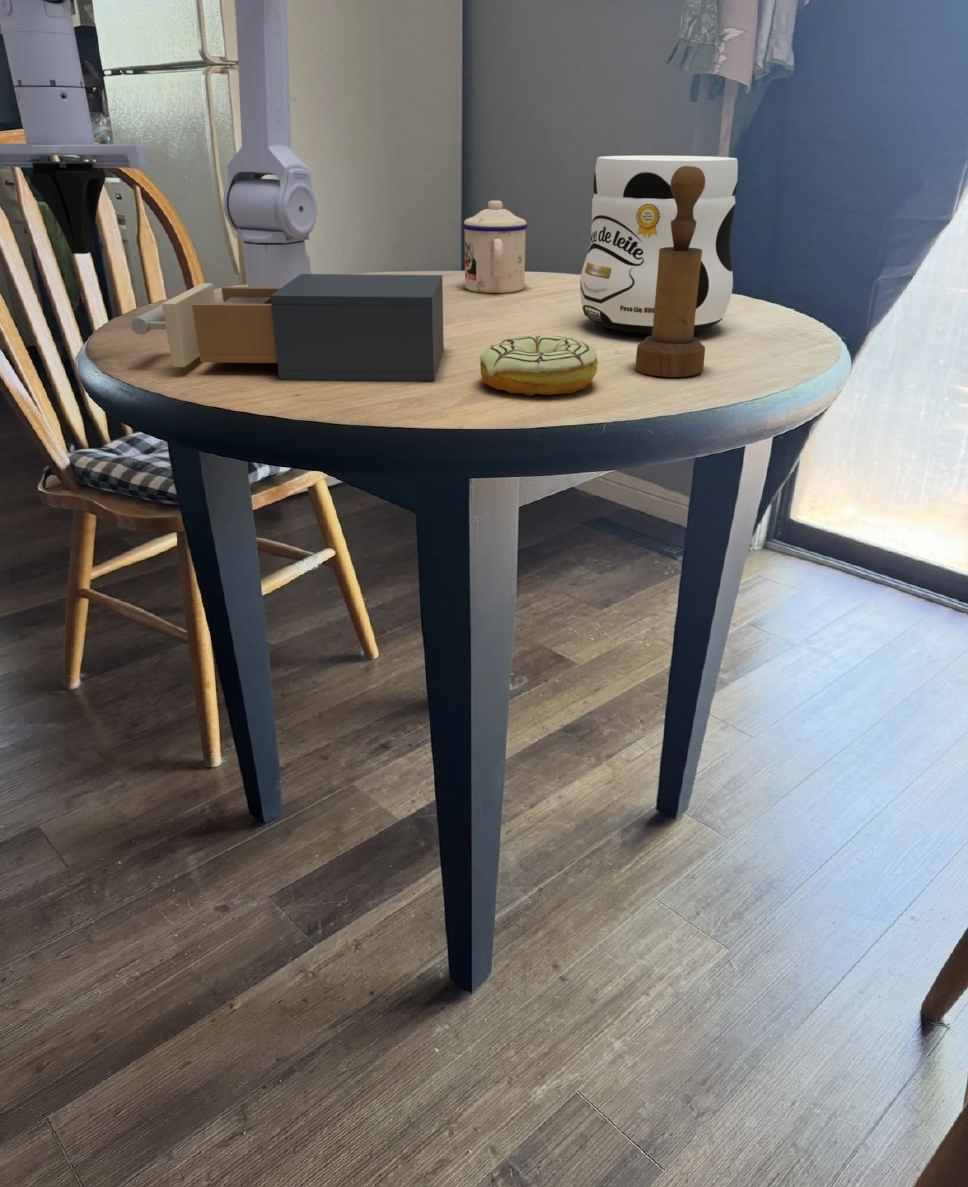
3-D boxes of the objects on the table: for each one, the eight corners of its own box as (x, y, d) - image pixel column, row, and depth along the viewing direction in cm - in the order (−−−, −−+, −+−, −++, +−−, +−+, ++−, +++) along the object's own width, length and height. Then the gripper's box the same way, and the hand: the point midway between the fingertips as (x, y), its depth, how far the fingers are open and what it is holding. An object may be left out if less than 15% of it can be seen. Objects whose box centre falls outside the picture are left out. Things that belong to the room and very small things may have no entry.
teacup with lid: (462, 283, 131) (461, 198, 125) (522, 283, 131) (524, 198, 126) (465, 298, 120) (464, 205, 115) (530, 297, 121) (533, 205, 115)
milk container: (554, 334, 100) (561, 158, 92) (608, 308, 114) (618, 154, 105) (703, 350, 93) (726, 162, 84) (742, 321, 107) (765, 157, 98)
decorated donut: (482, 369, 86) (482, 330, 84) (592, 371, 85) (594, 331, 83) (476, 398, 77) (476, 355, 75) (599, 400, 76) (602, 357, 74)
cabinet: (279, 379, 82) (269, 295, 78) (307, 348, 93) (300, 273, 90) (434, 381, 82) (431, 296, 78) (443, 350, 93) (442, 275, 89)
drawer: (128, 366, 83) (116, 303, 80) (170, 340, 93) (160, 282, 90) (314, 368, 82) (308, 304, 79) (336, 341, 92) (331, 284, 89)
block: (236, 337, 89) (231, 296, 87) (275, 338, 89) (271, 297, 87) (225, 346, 85) (219, 304, 83) (265, 347, 85) (261, 304, 83)
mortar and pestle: (656, 358, 90) (675, 163, 81) (714, 368, 86) (740, 165, 78) (622, 371, 85) (638, 166, 77) (682, 382, 82) (706, 168, 73)
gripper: (-58, 86, 73) (-15, 257, 80) (113, 86, 73) (142, 258, 80) (-13, 88, 80) (24, 247, 86) (144, 89, 79) (169, 249, 86)
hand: (83, 252), depth 83 cm, fingers closed
